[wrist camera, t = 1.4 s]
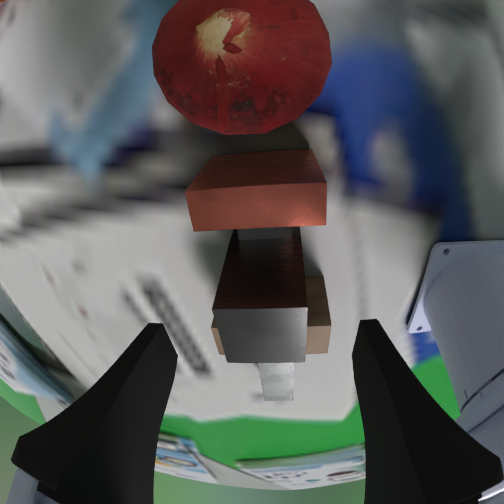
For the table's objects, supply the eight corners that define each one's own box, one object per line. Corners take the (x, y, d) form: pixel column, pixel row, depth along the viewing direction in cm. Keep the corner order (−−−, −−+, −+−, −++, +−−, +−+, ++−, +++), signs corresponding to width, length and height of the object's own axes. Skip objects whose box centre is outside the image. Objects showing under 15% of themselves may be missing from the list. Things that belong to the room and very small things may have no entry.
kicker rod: (311, 148, 13) (338, 212, 7) (306, 374, 24) (308, 447, 18) (212, 155, 14) (163, 222, 8) (252, 375, 24) (245, 447, 18)
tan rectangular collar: (323, 276, 17) (331, 325, 14) (321, 304, 19) (327, 353, 15) (222, 279, 18) (211, 327, 15) (228, 306, 19) (219, 354, 16)
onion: (317, 118, 12) (364, 171, 6) (195, 123, 13) (111, 182, 6) (312, 4, 9) (351, -72, 2) (185, 14, 10) (89, -32, 3)
